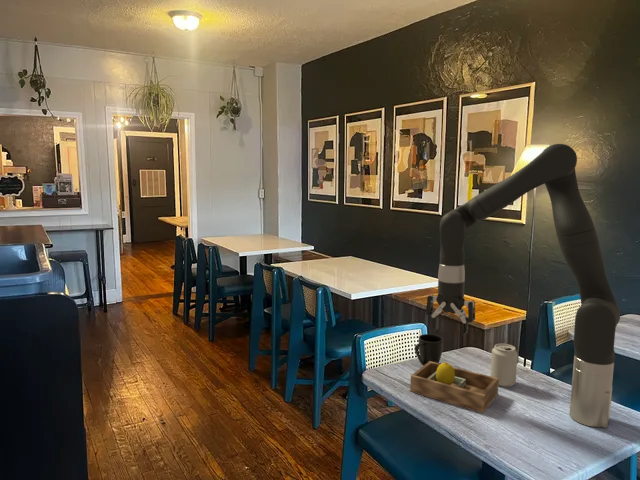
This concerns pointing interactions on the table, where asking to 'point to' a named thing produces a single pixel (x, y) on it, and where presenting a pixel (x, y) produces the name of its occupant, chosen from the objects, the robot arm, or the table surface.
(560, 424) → the table surface
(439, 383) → the caddy
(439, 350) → the mug
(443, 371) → the lemon
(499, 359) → the can
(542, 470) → the table surface
